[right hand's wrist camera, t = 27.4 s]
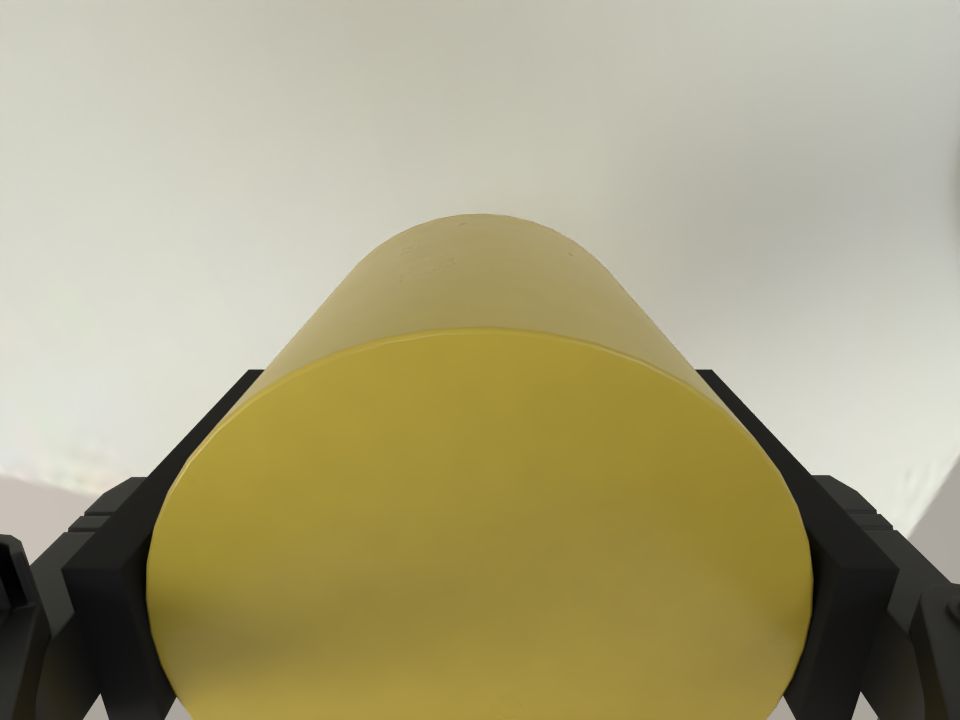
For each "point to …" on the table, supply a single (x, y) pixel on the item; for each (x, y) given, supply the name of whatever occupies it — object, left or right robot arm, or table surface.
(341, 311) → the tin
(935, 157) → the table surface
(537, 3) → the table surface
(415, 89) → the table surface
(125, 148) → the table surface
